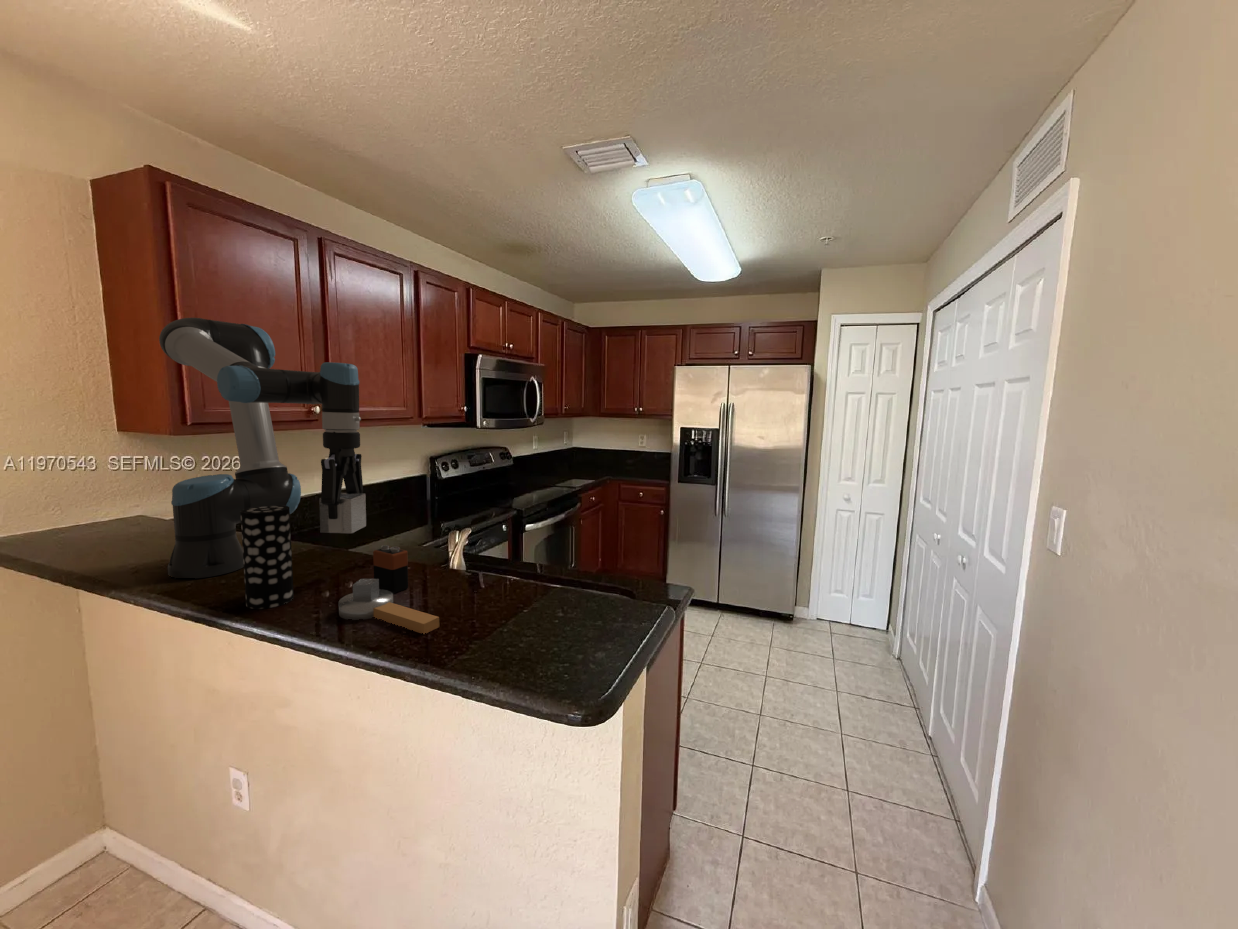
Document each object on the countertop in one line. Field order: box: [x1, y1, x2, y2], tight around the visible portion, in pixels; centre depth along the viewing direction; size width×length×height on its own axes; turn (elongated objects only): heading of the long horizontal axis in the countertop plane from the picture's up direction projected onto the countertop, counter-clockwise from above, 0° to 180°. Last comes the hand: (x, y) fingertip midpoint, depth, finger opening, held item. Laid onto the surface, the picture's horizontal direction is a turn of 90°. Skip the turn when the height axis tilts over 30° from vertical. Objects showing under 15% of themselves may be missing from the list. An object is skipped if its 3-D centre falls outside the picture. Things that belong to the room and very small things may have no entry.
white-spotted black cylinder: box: [240, 505, 295, 610], centre depth 103 cm, size 8×8×20 cm
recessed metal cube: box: [318, 492, 367, 534], centre depth 115 cm, size 7×7×8 cm
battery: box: [372, 544, 409, 595], centre depth 113 cm, size 4×7×10 cm, turn 62°
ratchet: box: [338, 578, 440, 635], centre depth 98 cm, size 24×10×6 cm, turn 62°
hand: (344, 527), depth 115 cm, fingers closed on recessed metal cube, 7 cm apart
